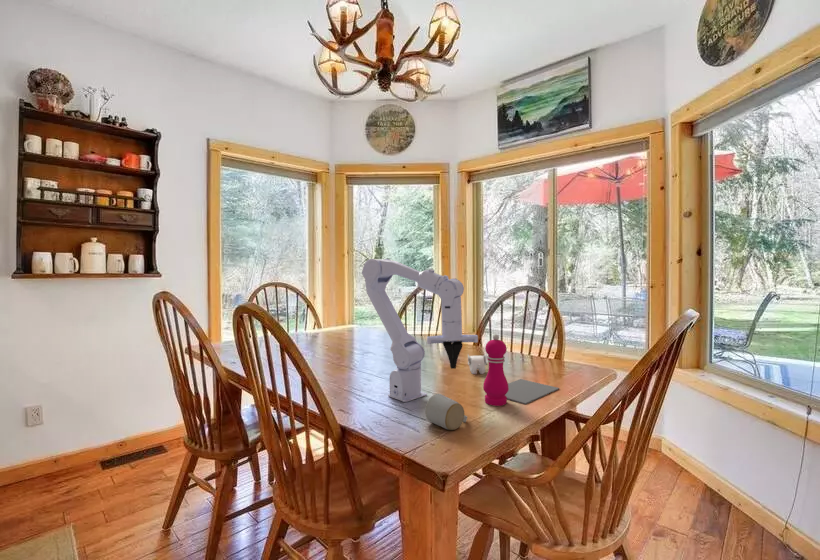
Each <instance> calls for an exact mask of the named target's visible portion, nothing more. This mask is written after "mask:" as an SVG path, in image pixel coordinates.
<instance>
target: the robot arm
mask: <svg viewBox="0 0 820 560" xmlns="http://www.w3.org/2000/svg"><path fill="white" fill-rule="evenodd" d="M361 270H362V271H361V274H362V277H363V278H364V282H365V291H366V294H367V296H368V298H369V300H370V302H371V304H372V306H373V308H374V310H375V312H376V314H377V315H378V317H379V319H380V321H381V323H382V324H383V327H384V329H385V330H386V332H387V334H388V336H389V337H390V340H391V346H390V351H391V354H392V360H393V363H394V364H395V366H396V368H395V369H394V370H392V371H391V372H390V374H389V393H388V394H387V396H388V397H390V398H393V399H395V400H397V401H400V402H404V403H407V402H410V401H412V400H416V399H419V398H423V397H425V396H428V393H426V392H423V391H422V361H423V359H424V358H425V355H426V354H425V348H424V347H423V345H421V344H420V343H419V342H418V341H417V340H416V337H414V336H413V335H411V334H409V333H408V331H407V329H406V327H405V325H404V324H403V322H402V319H401V318H400V316H399V315H398V312H397V310H396V308H395V307H394V305H393V303H392V301H391V299H390V297H389V296H388V294H387V292H386V288H387V285H388V284H389V282H390V281H391V279H392V277H393V276H395V275H396V276H398V277H402V278H404V279H407V280H410V281H414V282H416V283H417V285H418V287H419V289H422V290H425V291H427V292H430V293H432V294H434V295H437V296H438V297H439V299H440V301H441V303H440V304H441V333H442V334H439V335H431V336H429V335H428V336H426V343H427V344H426V345H432V344H442V345H443V347H444V350H445V352H446V354H447V358H448V360H449V361H448V362H449V366H450V369H456V368H457V363H458V358H459V356H460V353H461V351H462V349H463V343H476V344H477V343H479V336H478V335H477V334H463V321H462V320H463V319H462V315H463V314H462V296H463V294H464V290H465V288H464V287H465V286H464V284H463V283H462V281H461V280H458V279H457V278H449V275H446V274H444V275H441V274H438V273H436V272H435V269H432V268H429V269H424V270H422V271H419V270H418V269H415V268H413V267H411V266H409V265H407V264H404V263H401V262H400V261H396V260H391V259H389V258H384V259H383V258H381V259H380V258H377V259H376V258H375V259H374V258H369V259H367V260H366V261H365V262H364V264H363V267H362V269H361Z"/></svg>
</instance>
